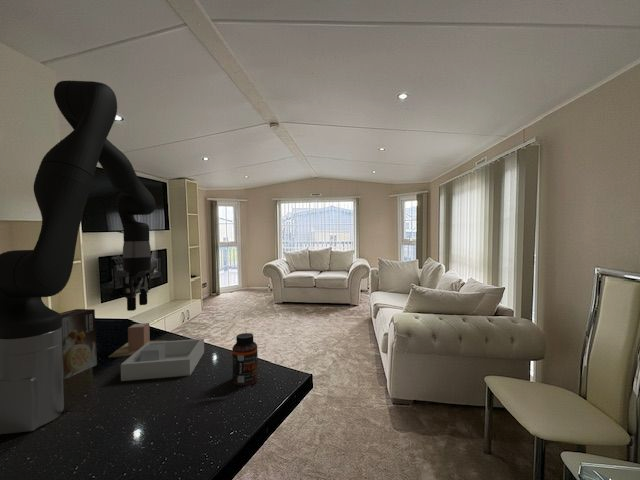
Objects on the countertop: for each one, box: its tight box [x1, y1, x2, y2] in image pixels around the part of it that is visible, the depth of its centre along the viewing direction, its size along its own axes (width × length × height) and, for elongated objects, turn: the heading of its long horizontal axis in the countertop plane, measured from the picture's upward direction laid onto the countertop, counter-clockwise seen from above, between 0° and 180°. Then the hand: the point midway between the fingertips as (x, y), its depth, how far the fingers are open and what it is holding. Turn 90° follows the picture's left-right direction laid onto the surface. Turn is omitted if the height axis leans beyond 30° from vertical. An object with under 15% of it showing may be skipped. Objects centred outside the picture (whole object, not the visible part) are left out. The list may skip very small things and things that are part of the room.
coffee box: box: [58, 308, 98, 380], centre depth 81 cm, size 9×6×16 cm
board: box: [107, 339, 167, 359], centre depth 97 cm, size 12×12×1 cm
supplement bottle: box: [231, 332, 259, 386], centre depth 74 cm, size 6×6×11 cm
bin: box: [120, 338, 205, 382], centre depth 84 cm, size 16×16×5 cm
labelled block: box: [127, 322, 151, 351], centre depth 96 cm, size 4×4×7 cm
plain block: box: [141, 344, 165, 362], centre depth 83 cm, size 4×4×5 cm
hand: (137, 307), depth 96 cm, fingers open, 8 cm apart
